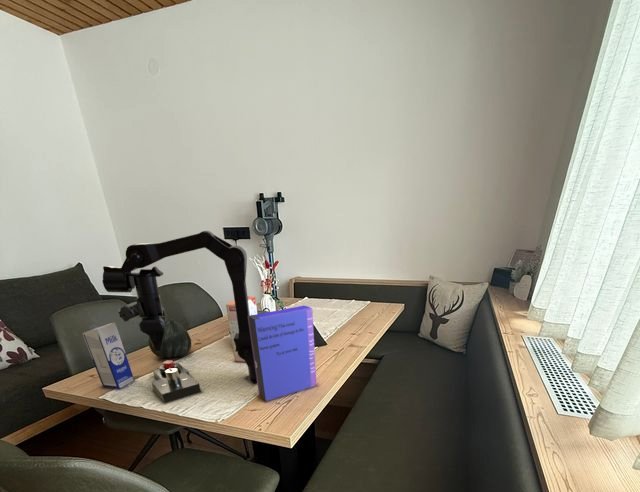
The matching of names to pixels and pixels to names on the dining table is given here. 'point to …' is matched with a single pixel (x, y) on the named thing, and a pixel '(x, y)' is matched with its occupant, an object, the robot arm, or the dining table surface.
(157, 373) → the block
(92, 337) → the milk carton
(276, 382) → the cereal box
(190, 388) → the panel
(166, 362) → the disc
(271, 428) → the dining table surface
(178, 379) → the knob
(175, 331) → the squash
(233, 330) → the cracker box
